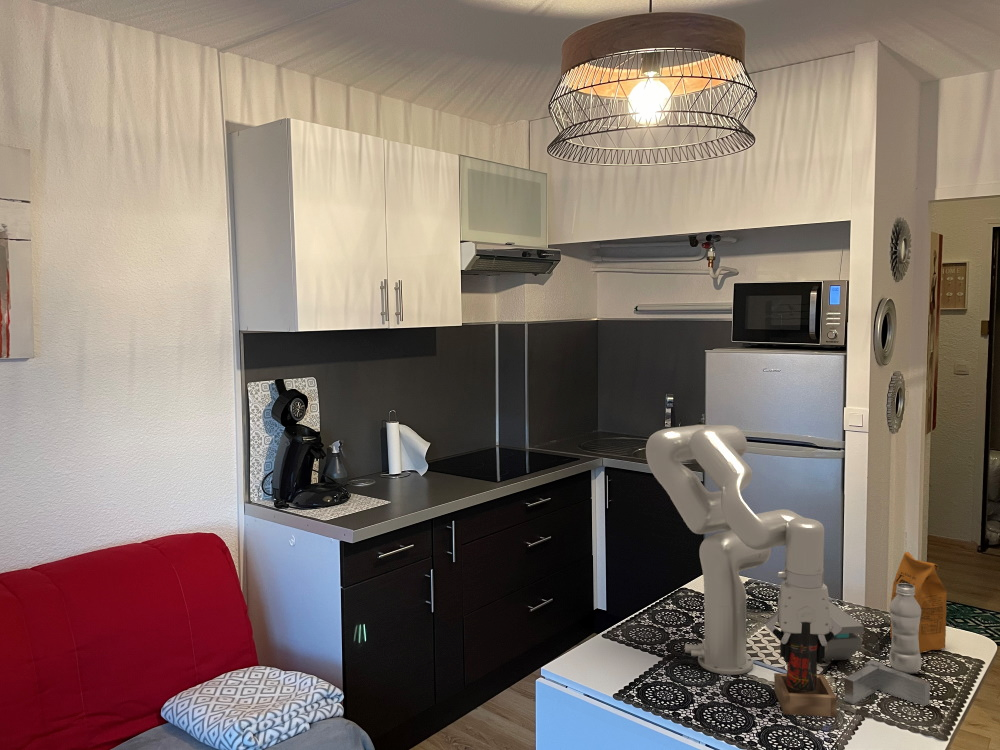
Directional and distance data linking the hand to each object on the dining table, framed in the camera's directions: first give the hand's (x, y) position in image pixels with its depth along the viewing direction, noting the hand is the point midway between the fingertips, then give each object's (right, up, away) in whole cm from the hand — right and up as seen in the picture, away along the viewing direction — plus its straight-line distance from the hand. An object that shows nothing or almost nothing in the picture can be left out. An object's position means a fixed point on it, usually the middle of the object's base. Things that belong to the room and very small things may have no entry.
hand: (802, 659), depth 168 cm
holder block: (+1, -9, 0) cm, 9 cm away
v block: (+18, -9, +4) cm, 20 cm away
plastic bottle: (+29, -8, +14) cm, 33 cm away
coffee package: (+39, -6, +28) cm, 49 cm away
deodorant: (0, -6, +1) cm, 6 cm away
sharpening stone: (+15, -7, +26) cm, 31 cm away
